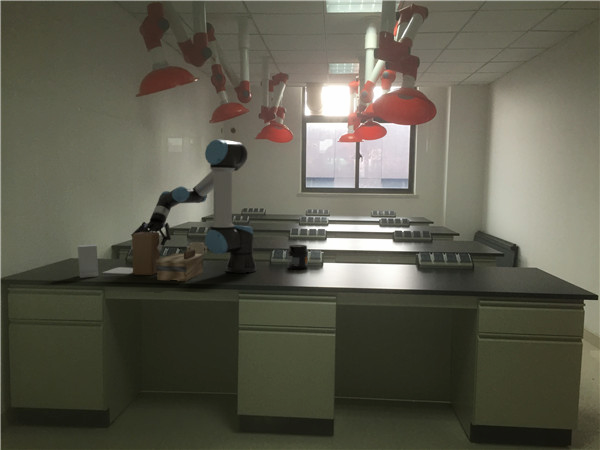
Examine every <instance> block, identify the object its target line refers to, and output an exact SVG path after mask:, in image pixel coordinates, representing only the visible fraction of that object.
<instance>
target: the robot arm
mask: <svg viewBox="0 0 600 450" xmlns="http://www.w3.org/2000/svg"><path fill="white" fill-rule="evenodd" d="M204 157H205V160H206V162H207V163H209V164H210V170H211V171H210V172H209V173H208V174H207V175H206V176H205V177H203V178H202V180H200V181H199V182H198V183H197V184H196V185H195V186H193V188H186V187H185V186H183V185H181V186H178V187H176V188H174V189H173V190H171V191H168V190H165V191H163V192H161V194H160V196H159V198H158V200H157V202H156V205H155V207H154V209H153V212H152V214H151V216H150V219H149V222H148V223H146V222H145V221H143V222H142V224H141V225H140V226H139V227H137V228H136V230H135V231H133V233H132V234H131V233H130V234H131V235H130V236H131V237H132V235H133V234H134V233H139V232H158V233H159V235H161V237H160V238H159V244H158V247H157V249H158V251H159V253H160V252H161V251H162V248H163V246H165V245H166V242H167V241H170V240H171V239H172V238H171V234H170V224H169V223H168V222H166V221H167V218H168V216H169V214H170V211H171V210H172V208H174V207H175V206H178V205H180V204H199V203H204V202H206V200H207V197H208V194H210V193H211V192H213V222H212V223H211V224H210V225H209V227H210V230H209V231H208V232H207V233H206V234H205V238H204V239H205V240H204V242H205V244H206V246H205V247H207V250H208V249H209V251H210V253H213V254H215V255H223V254H228V253H229V257H228V260H227V264H226V272H228V273H232V272H233V273H232V274H246V272H249V273H253V272H256V271H257V264H256V260H255V257H254V229H253V228H252V226H247V225H246V226H245V225H236V224H234V223H233V221H232V220H233V217H232V214H233V213H232V212H233V211H232V208H233V207H232V206H233V204H232V203H233V199H232V198H233V193H232V192H233V186H232V185H233V172H237V171H239V170H240V169H241V168H242V167H243V166H244V165H245V163H246V162H247V159H248V151H247V147H246V146H245V145H244V144H243V143H242V142H239V141H235V140H234V141H233V140H227V139H214V140H212V141H210V142H209V144H207V145H206V148H205V152H204ZM163 228H164V230H165V234H164V232H163V230H162V229H163ZM130 248H131V249H132V245H131V247H130Z"/></svg>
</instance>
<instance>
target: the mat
mask: <svg viewBox="0 0 600 450" xmlns="http://www.w3.org/2000/svg"><path fill="white" fill-rule="evenodd" d="M102 274H109V275H111V274H113V275H115V274H116V275H131V274H133V267H120V266H119V267H115V268H112V269H109V270H106V271H102Z"/></svg>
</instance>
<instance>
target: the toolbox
mask: <svg viewBox="0 0 600 450" xmlns="http://www.w3.org/2000/svg"><path fill="white" fill-rule="evenodd" d="M203 267H204V259H203V257H201V258H199V259H196V260H194V261H191V262H189V263H187V264H186V263H161V262H157V273H156V277H157V278H156V279H157V281H170V280H177V281H176V282H188V281H190V280H192V279H194V278H195V276H196V277H197V276H199V275H201V274H203V271H204V270H203ZM193 277H194V278H193ZM191 278H192V279H191ZM189 279H190V280H189ZM187 280H188V281H187Z"/></svg>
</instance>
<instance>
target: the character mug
mask: <svg viewBox="0 0 600 450" xmlns="http://www.w3.org/2000/svg"><path fill="white" fill-rule="evenodd" d="M190 250H195V254H203V255H204V254H207V253H208V248H207V246H205V244H204V242H195V241H193V242H190V243H189V245H187V246H186V252H187V251H190Z"/></svg>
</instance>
